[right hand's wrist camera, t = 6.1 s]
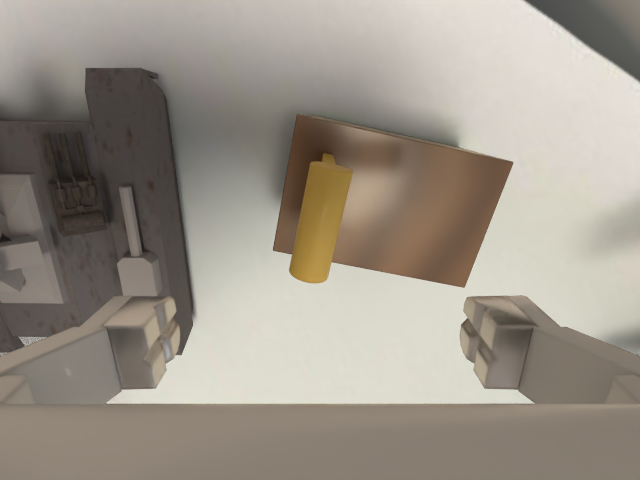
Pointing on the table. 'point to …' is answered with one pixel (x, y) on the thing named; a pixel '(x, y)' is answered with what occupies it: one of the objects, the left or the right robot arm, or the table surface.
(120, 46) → the table surface
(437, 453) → the right robot arm
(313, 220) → the lid
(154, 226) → the toy
